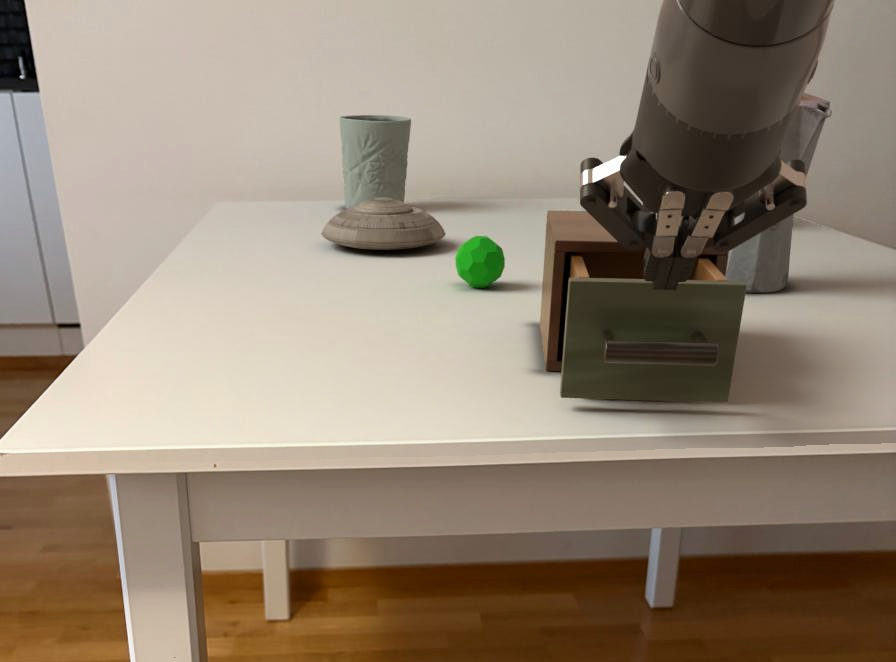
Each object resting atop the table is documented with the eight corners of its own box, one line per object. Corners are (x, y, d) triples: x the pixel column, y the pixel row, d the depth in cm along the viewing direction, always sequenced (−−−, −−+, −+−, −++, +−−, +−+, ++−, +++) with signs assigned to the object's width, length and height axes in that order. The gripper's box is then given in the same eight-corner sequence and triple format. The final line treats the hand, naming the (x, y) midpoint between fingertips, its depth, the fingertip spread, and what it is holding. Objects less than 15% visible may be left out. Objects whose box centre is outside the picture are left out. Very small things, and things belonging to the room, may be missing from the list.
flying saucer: (398, 231, 136) (397, 185, 133) (470, 248, 125) (471, 199, 123) (298, 242, 128) (296, 194, 125) (367, 262, 118) (366, 210, 115)
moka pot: (765, 303, 101) (805, 69, 91) (652, 276, 112) (677, 64, 102) (829, 292, 106) (874, 67, 96) (714, 266, 117) (743, 62, 107)
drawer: (742, 426, 67) (763, 301, 63) (564, 421, 68) (574, 297, 64) (696, 350, 83) (711, 247, 79) (552, 346, 84) (559, 244, 80)
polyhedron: (487, 279, 110) (489, 231, 108) (512, 288, 106) (515, 239, 104) (446, 284, 108) (447, 235, 106) (470, 293, 104) (472, 243, 102)
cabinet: (710, 375, 80) (730, 243, 75) (545, 371, 81) (555, 240, 76) (682, 328, 93) (697, 212, 88) (539, 325, 93) (547, 210, 89)
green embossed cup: (345, 203, 157) (343, 114, 151) (412, 204, 157) (412, 115, 151) (338, 213, 149) (335, 119, 143) (409, 214, 148) (409, 120, 142)
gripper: (868, -1, 50) (767, 227, 67) (590, -2, 51) (559, 224, 68) (877, 131, 48) (771, 332, 65) (588, 128, 49) (557, 328, 66)
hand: (663, 277), depth 66 cm, fingers closed
